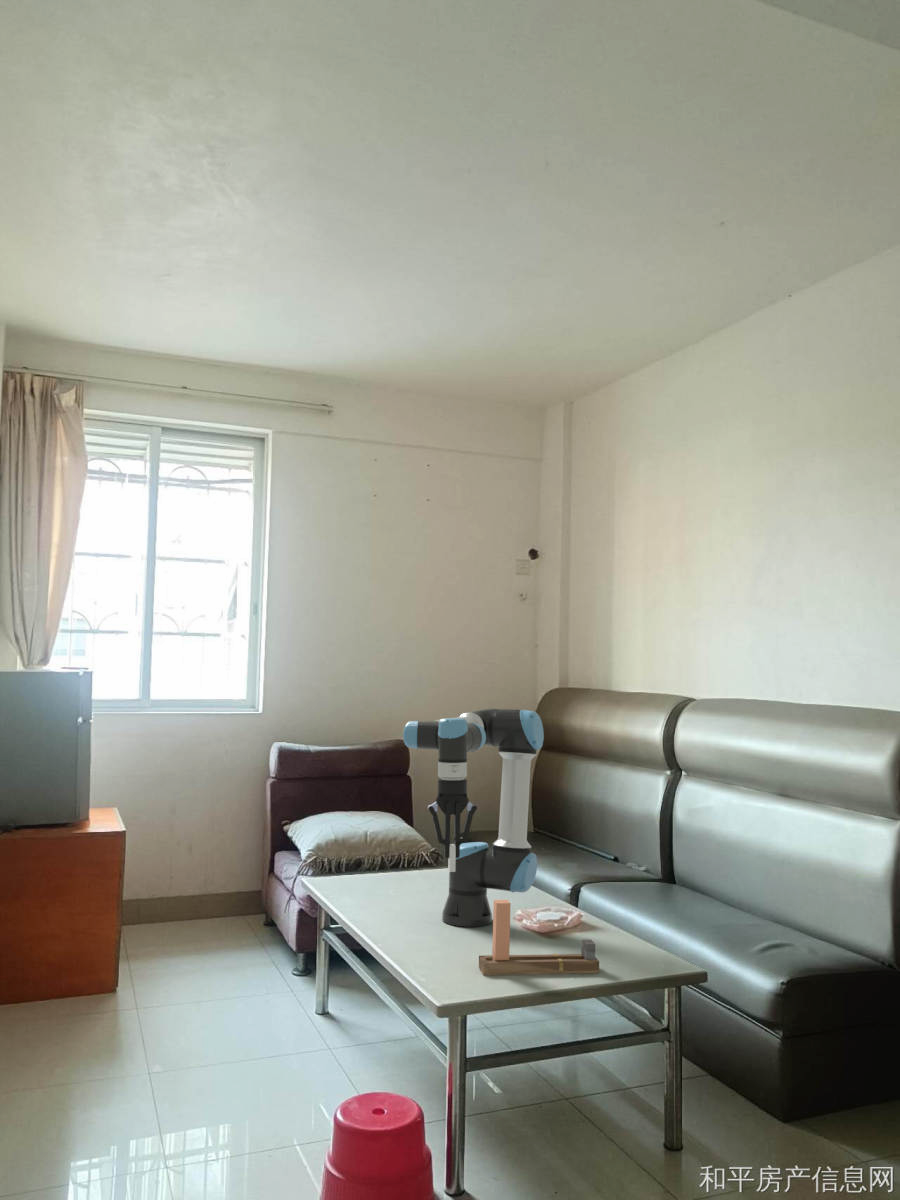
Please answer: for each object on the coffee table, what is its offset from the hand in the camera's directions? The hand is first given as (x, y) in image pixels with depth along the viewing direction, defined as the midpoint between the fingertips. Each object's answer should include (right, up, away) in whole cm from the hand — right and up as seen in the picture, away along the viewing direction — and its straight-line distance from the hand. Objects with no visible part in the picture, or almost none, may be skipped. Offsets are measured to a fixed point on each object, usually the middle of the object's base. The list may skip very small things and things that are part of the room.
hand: (451, 870), depth 238 cm
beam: (+22, -25, -3) cm, 33 cm away
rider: (+12, -24, -4) cm, 27 cm away
